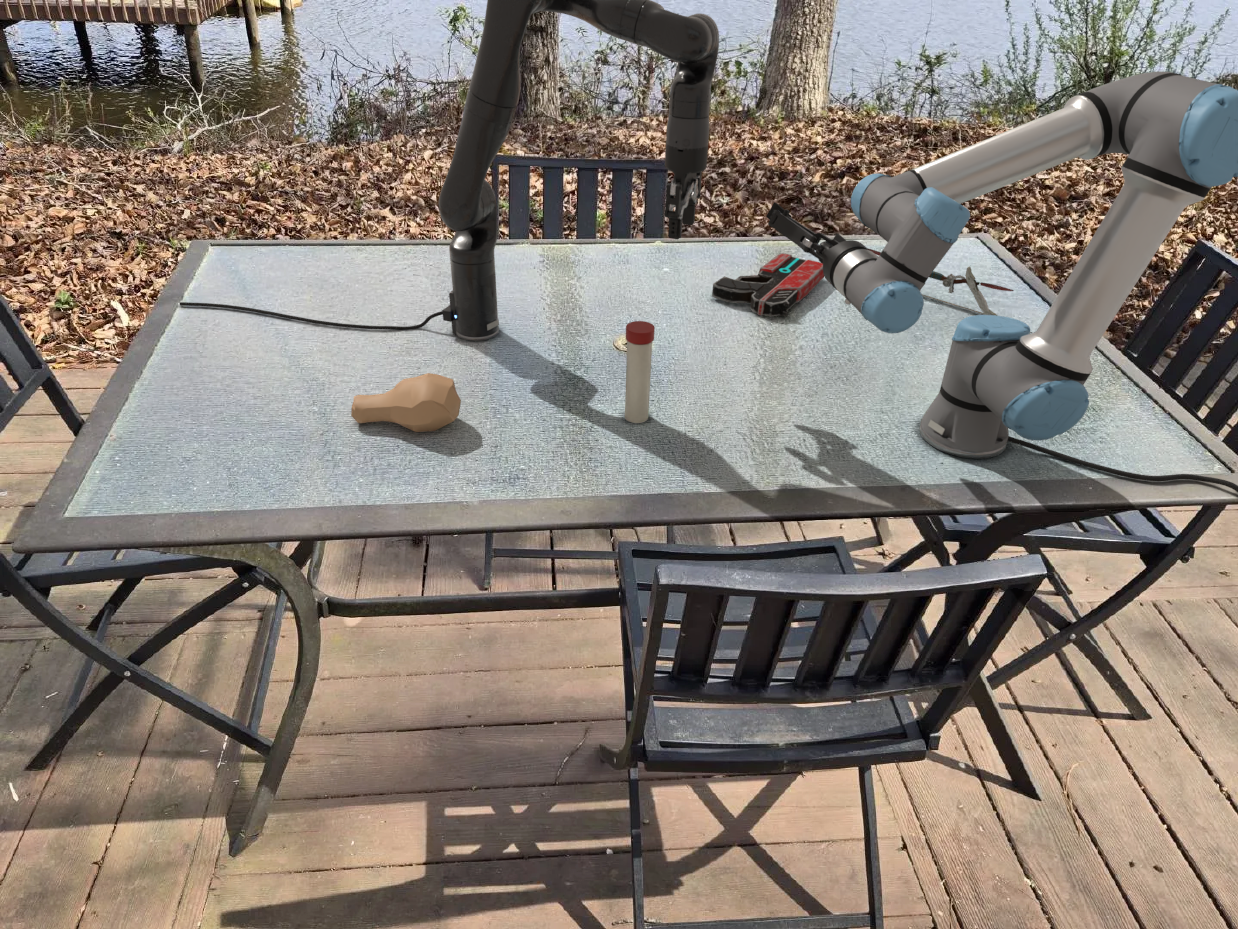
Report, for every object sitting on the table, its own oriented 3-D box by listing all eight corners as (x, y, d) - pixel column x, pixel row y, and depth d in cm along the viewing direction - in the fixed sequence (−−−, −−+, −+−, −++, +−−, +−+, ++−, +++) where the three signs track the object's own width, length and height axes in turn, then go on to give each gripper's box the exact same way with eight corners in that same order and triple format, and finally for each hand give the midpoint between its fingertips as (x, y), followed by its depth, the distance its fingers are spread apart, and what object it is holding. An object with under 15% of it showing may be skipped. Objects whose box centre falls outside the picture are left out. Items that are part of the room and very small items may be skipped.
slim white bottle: (633, 425, 162) (637, 336, 152) (620, 415, 165) (622, 327, 155) (653, 419, 164) (657, 331, 154) (639, 408, 167) (643, 321, 157)
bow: (1006, 319, 205) (1018, 279, 199) (1003, 322, 204) (1015, 281, 198) (860, 274, 226) (867, 237, 221) (856, 276, 225) (863, 238, 220)
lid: (636, 347, 152) (636, 335, 151) (620, 336, 156) (620, 324, 154) (659, 340, 155) (660, 329, 153) (643, 330, 158) (643, 318, 157)
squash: (461, 438, 156) (449, 399, 150) (353, 447, 158) (336, 409, 152) (469, 400, 164) (458, 361, 158) (366, 408, 166) (350, 370, 160)
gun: (708, 284, 207) (784, 305, 199) (760, 245, 229) (831, 262, 221) (706, 302, 209) (781, 323, 201) (758, 261, 231) (828, 278, 223)
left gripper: (679, 130, 161) (673, 217, 170) (654, 148, 150) (649, 240, 159) (718, 134, 159) (711, 222, 168) (695, 153, 148) (689, 246, 157)
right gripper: (776, 262, 130) (733, 216, 147) (900, 321, 140) (846, 271, 158) (803, 217, 127) (756, 175, 144) (929, 280, 137) (870, 234, 154)
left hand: (681, 231), depth 164 cm, fingers open, 8 cm apart
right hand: (803, 225), depth 151 cm, fingers open, 13 cm apart
